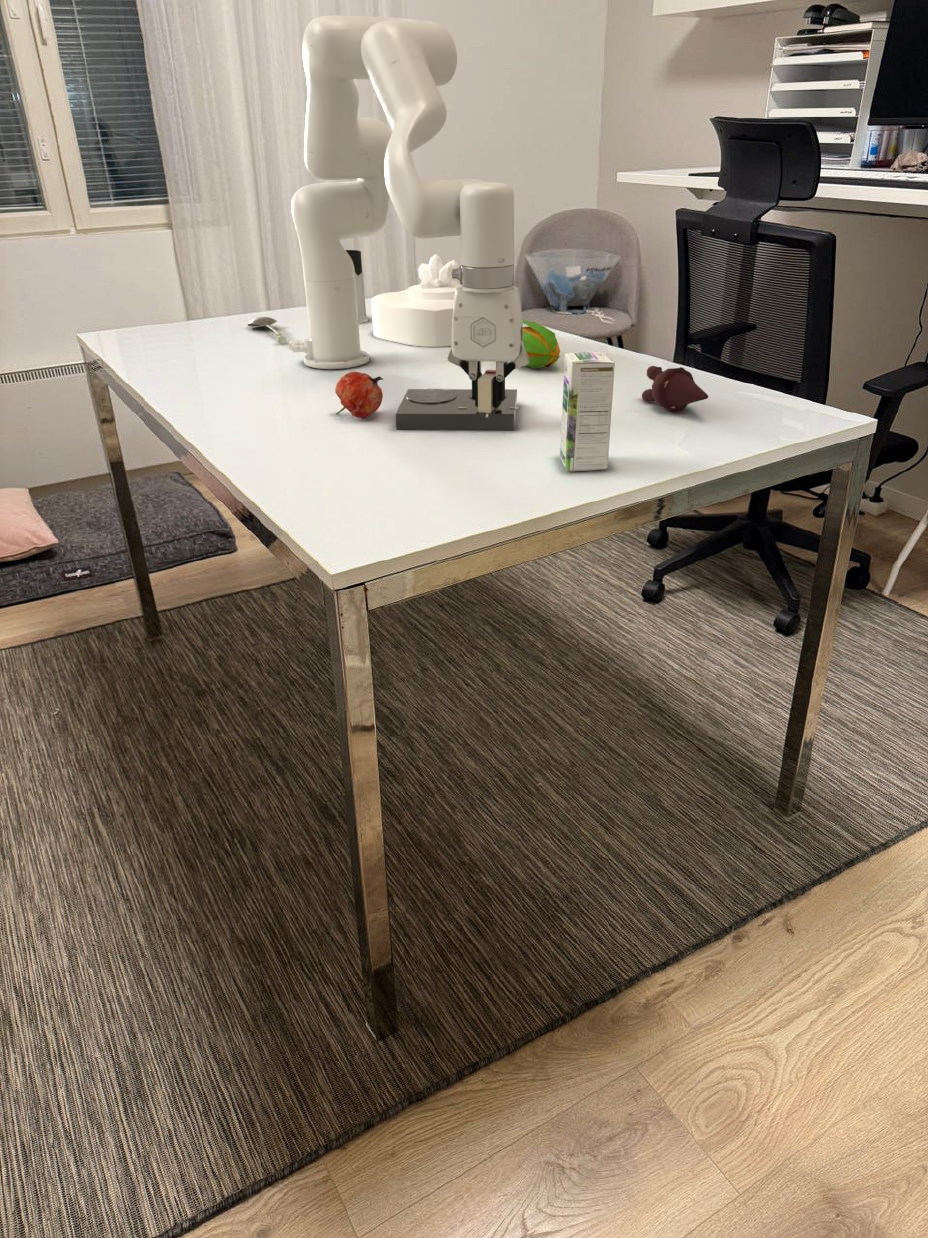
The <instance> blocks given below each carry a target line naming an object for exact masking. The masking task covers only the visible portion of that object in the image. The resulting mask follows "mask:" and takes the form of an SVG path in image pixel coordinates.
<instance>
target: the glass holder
mask: <svg viewBox="0 0 928 1238" xmlns="http://www.w3.org/2000/svg"><path fill="white" fill-rule="evenodd" d="M345 250H346V252H347V253H348V254H349V256H350V257H351V259H352V262H353V265H354V270H355V282H356V295H357V309H358V322H359V324H364V323H367V322H369V317H368V316H367V310H366V294H365V279H364V273H363V261H362V251H361V250H357V249H345Z"/></svg>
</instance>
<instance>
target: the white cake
mask: <svg viewBox="0 0 928 1238" xmlns="http://www.w3.org/2000/svg"><path fill="white" fill-rule="evenodd" d="M458 266H459V264H458V262H457V261H456V260H455V259H452V260H451V261H448V262H447V263H445V264H444V262H443V260H442V258H441V256H439V255H438V254H437V253H435V254H434V255H432V256H431V257H430V259H429V262H428V263H423V262H422V263H420V265H419V267H418V278H419V279H420V284H414V285H411V286H409V287H408V288H407V289H404V290H400V291H391V292H383V293H379V294H376V295H374V296H373V297H371V299H370V303H371V304H370V305H371V316H372V317H371V318H372V333H373V334H372V335H373V336H374V337H376V338H378V339H381V340H384V341H388V342H394V343H398V344H402V345H403V344H404V345H407V346H414V347H425V348H440V347H441V348H442V347H452V345H451V340H452V318H453V306H454V298H455V292H456V289H457V288H459V287H461V286H462V285H460V283H459V282H458V281H456V280H455V279H453V278H452V269H457V268H458ZM451 279H452V280H451Z"/></svg>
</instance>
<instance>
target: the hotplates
mask: <svg viewBox="0 0 928 1238" xmlns="http://www.w3.org/2000/svg"><path fill="white" fill-rule="evenodd" d="M422 389H423V390H418V391H414V392H411V393H409V394H408V395H407V399H408V400H410V401H412V402H416V403H425V404H434V403H443V402H448V401H451V400H453V399H455V398H456V397H457V394H456V393H455V392H453V391H450V390H445V389H446V388H425V389H424V388H422ZM469 397H470V398H471V399H472V393H470V395H469ZM506 397H507V394H506V393H505V398H506Z"/></svg>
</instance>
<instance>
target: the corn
mask: <svg viewBox="0 0 928 1238" xmlns="http://www.w3.org/2000/svg"><path fill="white" fill-rule="evenodd" d="M522 321H523V325H525V326H523V344H524V347H525V349H526V352H527V354H528V357H529V363H528V364H527V365H525V366H524V367H527V368H530V369H532V370H536V369H540V368H542V367H543V368H549V367H551V366H552V365H554V364H555V363H557V362H558V360H559V358H561V357H560V353H561V349H560V345H559V341H558V338H557V337H556V333H555V332H553V330H550V329H549V328H547V326H544V325H543V324H540V323H538V322H535V321H529V320H523V319H522ZM516 359H517V358H516Z"/></svg>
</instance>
